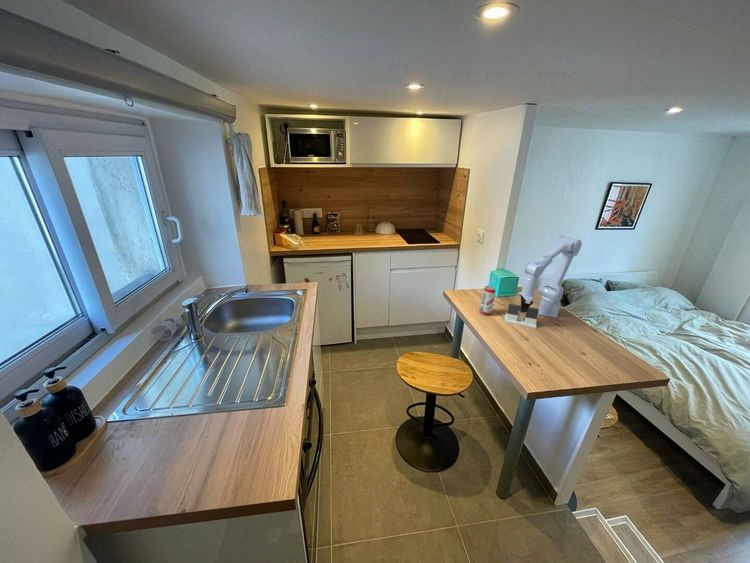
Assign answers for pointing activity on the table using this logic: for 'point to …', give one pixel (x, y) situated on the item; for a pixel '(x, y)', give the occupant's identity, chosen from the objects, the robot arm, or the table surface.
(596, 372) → the table surface
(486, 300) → the beer can
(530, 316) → the glasses bar
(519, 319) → the display stand
